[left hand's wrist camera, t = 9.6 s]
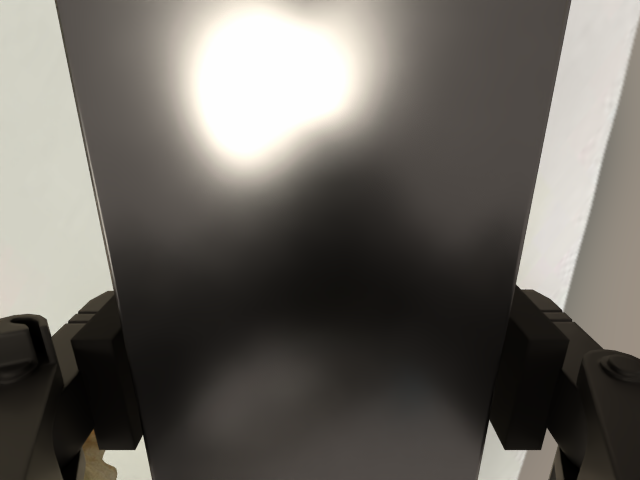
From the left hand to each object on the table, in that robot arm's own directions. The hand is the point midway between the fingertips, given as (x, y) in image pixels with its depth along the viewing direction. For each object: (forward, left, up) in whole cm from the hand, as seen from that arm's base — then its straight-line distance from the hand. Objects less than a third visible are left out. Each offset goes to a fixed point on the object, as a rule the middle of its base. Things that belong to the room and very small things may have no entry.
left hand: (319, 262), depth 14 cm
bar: (+9, 0, -1) cm, 9 cm away
